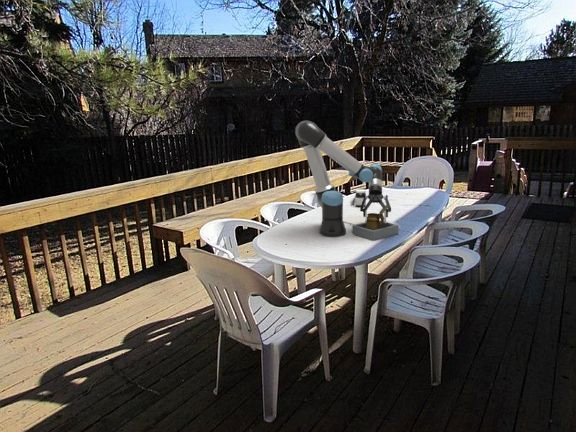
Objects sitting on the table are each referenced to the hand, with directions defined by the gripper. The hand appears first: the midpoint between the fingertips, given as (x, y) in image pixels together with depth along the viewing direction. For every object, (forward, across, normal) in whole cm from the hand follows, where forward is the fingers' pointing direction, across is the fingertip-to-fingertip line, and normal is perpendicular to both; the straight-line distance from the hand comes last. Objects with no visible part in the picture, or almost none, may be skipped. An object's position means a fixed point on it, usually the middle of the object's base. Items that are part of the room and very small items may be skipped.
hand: (375, 221), depth 236 cm
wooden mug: (+4, 0, -8) cm, 9 cm away
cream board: (-18, +11, -29) cm, 36 cm away
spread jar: (-46, +10, -58) cm, 75 cm away
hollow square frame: (+3, 0, -8) cm, 9 cm away
